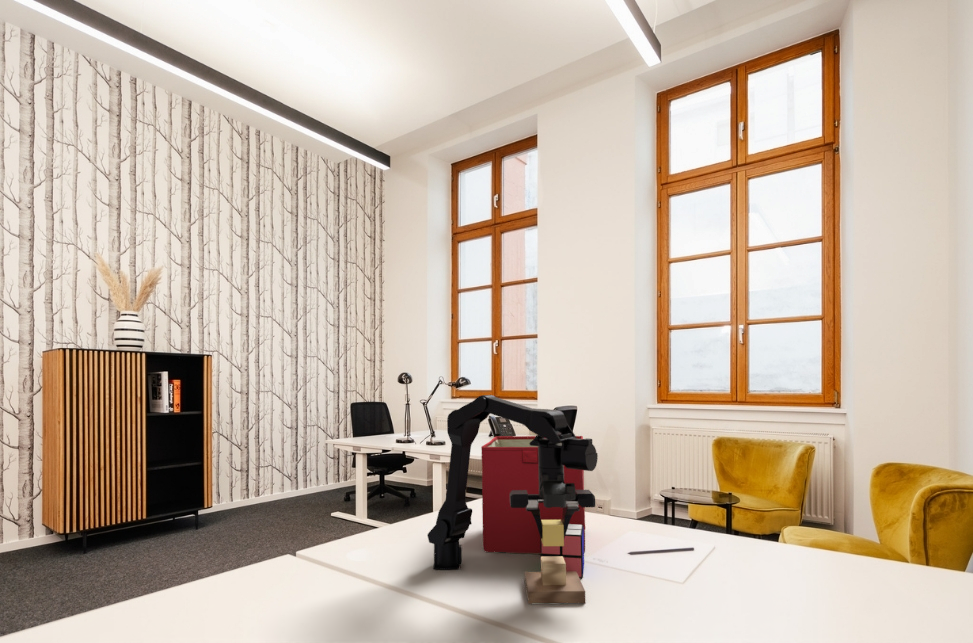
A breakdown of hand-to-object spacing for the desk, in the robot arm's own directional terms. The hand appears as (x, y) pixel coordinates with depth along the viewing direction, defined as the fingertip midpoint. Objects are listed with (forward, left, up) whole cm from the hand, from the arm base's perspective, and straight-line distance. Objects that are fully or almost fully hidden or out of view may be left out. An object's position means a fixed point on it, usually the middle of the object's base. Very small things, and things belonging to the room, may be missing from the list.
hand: (552, 538), depth 126 cm
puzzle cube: (+4, +14, -12) cm, 19 cm away
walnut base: (0, 0, -12) cm, 12 cm away
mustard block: (0, 0, -1) cm, 1 cm away
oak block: (0, 0, -9) cm, 9 cm away
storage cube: (0, +39, -12) cm, 41 cm away
